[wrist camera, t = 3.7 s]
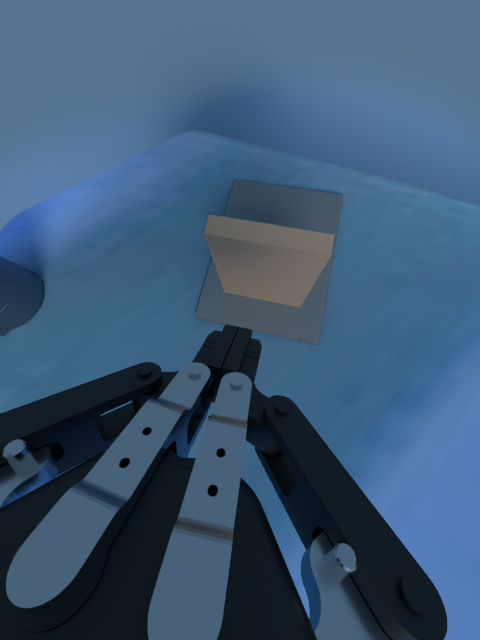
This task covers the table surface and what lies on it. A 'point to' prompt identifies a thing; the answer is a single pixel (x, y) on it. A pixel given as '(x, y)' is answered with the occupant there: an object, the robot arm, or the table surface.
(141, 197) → the table surface
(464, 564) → the table surface
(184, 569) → the robot arm
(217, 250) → the tile
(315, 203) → the mat
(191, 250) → the table surface
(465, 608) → the table surface
